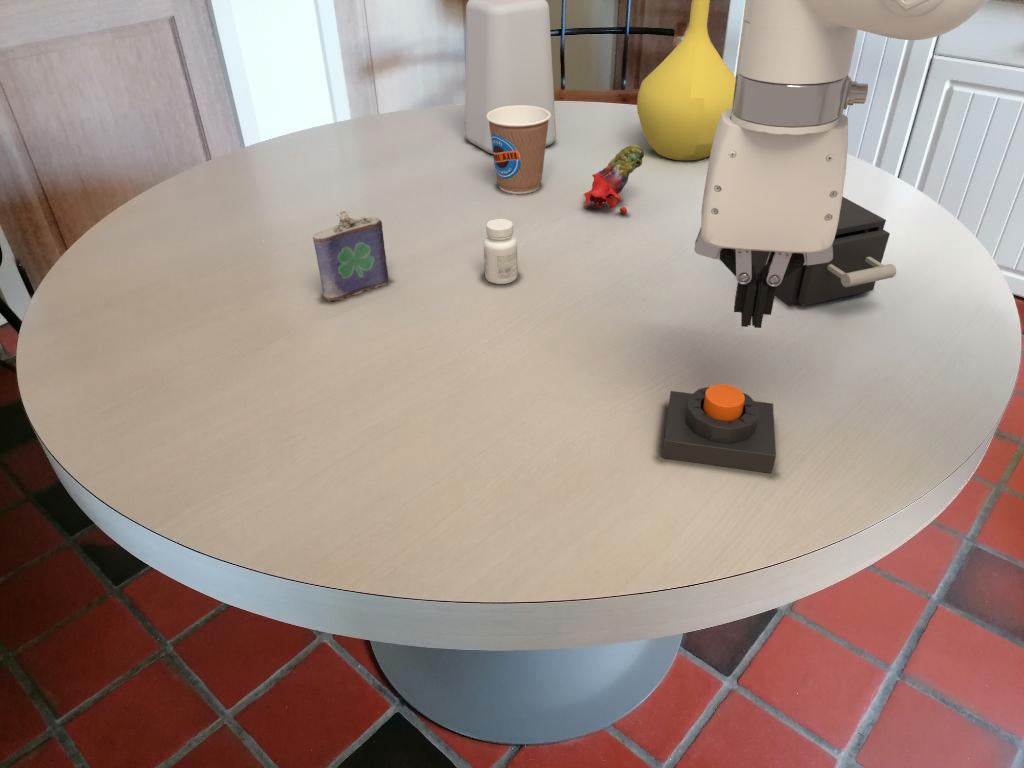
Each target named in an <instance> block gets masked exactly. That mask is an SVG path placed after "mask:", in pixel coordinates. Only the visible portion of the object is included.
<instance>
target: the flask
mask: <svg viewBox="0 0 1024 768" xmlns="http://www.w3.org/2000/svg"><path fill="white" fill-rule="evenodd" d="M335 216H338V217H339V221H338V222H337V224H338V225H335V226H332V227H331V226H330V227H329V228H326V229H322V230H321V231H318V232H315V233H314V234H313V236H312V240H313V246H314V251H315V256H316V261H317V266H318V271H319V277H320V278H319V279H320V282H321V288H322V295H323V298H324V299H325V301H327V302H332V301H341V300H344V298H347V297H351V296H352V297H353V296H355V295H359V294H362V293H363V292H364V291H370V290H371V289H375V288H376V289H378V288H379V287H381V286H386V285H387V284H388V283H389V282H390V280H389V273H388V265H387V256H386V255H387V254H386V249H385V248H386V247H385V240H384V231H383V222H382V220H381V219H379V218H378V217H377V218H376V217H375V216H369V217H367V216H362V217H361V218H356V219H355V218H352V217H351V216H349V212H347V210H342V211H339V213H336V215H335Z"/></svg>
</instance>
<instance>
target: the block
mask: <svg viewBox="0 0 1024 768" xmlns="http://www.w3.org/2000/svg"><path fill="white" fill-rule="evenodd" d="M709 387H710V386H706V387H701V388H698V389H696V390H695V391H694V392H693V393H691V392H684V391H675V390H671V391H670V393H669V400H668V409H667V416H666V425H665V432H664V441H663V449H662V458H663V459H666V460H667V459H668V460H675V461H681V462H689V463H697V464H704V465H709V466H716V467H717V466H720V467H726V468H731V469H739V470H746V471H754V472H758V473H759V472H760V473H767V474H772V473H773V469H774V465H775V461H776V457H777V451H776V450H777V449H776V434H775V417H774V414H775V413H774V404H773V402H765V401H764V402H763V401H757V400H754V399H753V398H752V397H751V396H750V395H749V394H747V393H745V392H743V394H744V396H745V401H744V406H743V411H742V414H741V416H740V417H739V418H738V419H735V420H731V421H725V420H718V419H715V418H713V417H711V416H709V415H707V414H706V413H705V411H704V409H703V405H704V399H705V393H706V390H707V389H708V388H709Z"/></svg>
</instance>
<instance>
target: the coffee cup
mask: <svg viewBox="0 0 1024 768" xmlns="http://www.w3.org/2000/svg"><path fill="white" fill-rule="evenodd" d="M486 117H487V119H488V121H489V127H490V133H491V142H492V149H493V154H492V156H493V164H494V169H495V173H496V179H497V182H498V186H499V189H500V190H501V191H503V192H504V193H508V194H513V195H523V194H524V195H525V194H530V193H534V192H536V191H537V190H539V189H540V187H541V182H542V179H543V171H544V164H545V163H544V162H545V154H546V147H547V146H546V138H547V130H548V122H549V121H548V120H549V118H550V117H551V114H550V112H549V111H547V110H546V109H543V108H540V107H535V106H525V105H516V106H506V107H501V108H497V109H494V110H492V111H490V112H489V113H488V114H487V116H486ZM545 146H546V147H545Z"/></svg>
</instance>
